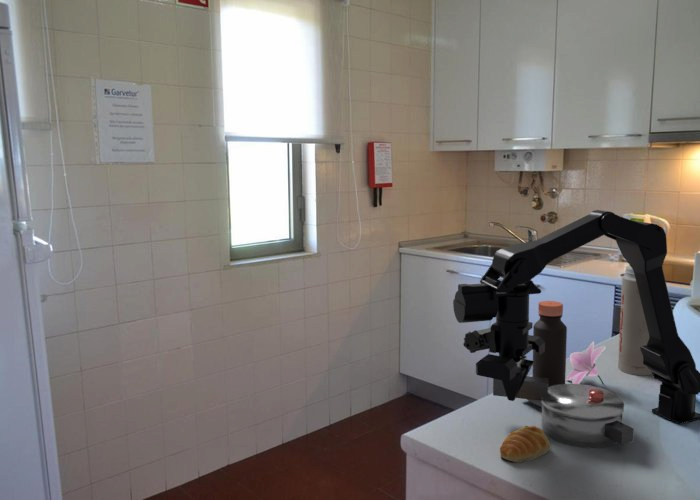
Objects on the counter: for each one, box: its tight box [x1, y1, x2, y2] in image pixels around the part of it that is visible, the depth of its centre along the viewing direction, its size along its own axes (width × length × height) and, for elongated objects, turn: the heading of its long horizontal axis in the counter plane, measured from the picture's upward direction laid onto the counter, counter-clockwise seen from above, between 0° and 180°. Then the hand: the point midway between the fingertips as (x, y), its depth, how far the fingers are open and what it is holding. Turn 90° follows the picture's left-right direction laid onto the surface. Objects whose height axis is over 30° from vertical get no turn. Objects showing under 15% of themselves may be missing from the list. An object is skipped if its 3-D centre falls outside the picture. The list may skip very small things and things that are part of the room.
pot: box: [526, 399, 635, 449], centre depth 113 cm, size 14×26×5 cm, turn 24°
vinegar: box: [531, 300, 568, 387], centre depth 127 cm, size 7×7×20 cm
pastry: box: [499, 425, 552, 463], centre depth 103 cm, size 9×7×4 cm
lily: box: [565, 341, 607, 385], centre depth 132 cm, size 12×12×10 cm
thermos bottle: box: [617, 264, 652, 376], centre depth 138 cm, size 8×8×28 cm
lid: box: [492, 375, 625, 421], centre depth 111 cm, size 14×23×4 cm, turn 69°
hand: (511, 400), depth 109 cm, fingers closed
